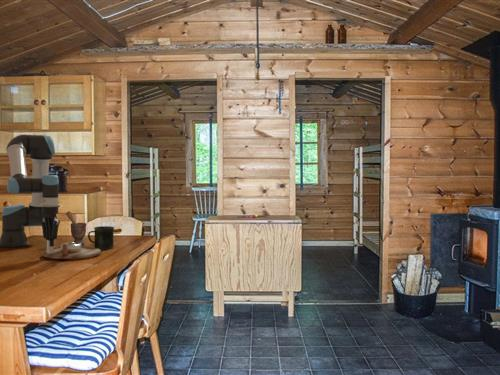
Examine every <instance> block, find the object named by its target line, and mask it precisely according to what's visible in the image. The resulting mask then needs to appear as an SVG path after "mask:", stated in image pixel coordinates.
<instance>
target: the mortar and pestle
mask: <svg viewBox="0 0 500 375" xmlns="http://www.w3.org/2000/svg"><path fill="white" fill-rule="evenodd" d="M65 214H66V216H67V218H68V219H69V220H70V222H71V223H70V233H71V237H72V238H73V239H74V241H73V242H79V243H81V247H85V245H86V242H85V241H84V240H83V238H84V237H85V236H86V234H87V223H86V222H77V221H76V220H75V218H74V216H73V214H72V212H71V211H67V212H65Z"/></svg>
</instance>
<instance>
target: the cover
mask: <svg viewBox="0 0 500 375" xmlns="http://www.w3.org/2000/svg"><path fill="white" fill-rule="evenodd" d="M62 244H68V253H78V252H81V247H82V246H81V243H79V242H74V241H67V242H65V243H64V242H63V243H60V248H61V253H62Z"/></svg>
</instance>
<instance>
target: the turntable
mask: <svg viewBox="0 0 500 375" xmlns="http://www.w3.org/2000/svg"><path fill="white" fill-rule="evenodd" d="M61 244H62V253H61V247H59V248H53V253H47V250H45V251H44V252H43V253H42V256H43V257H44V258H46V259H47V258H48V259H54V260H73V259H74V260H76V259H78V260H79V259H85V258H92V257H95V256H99V255H101V253H102V251H101V250H102V249H97V248H95V247H89V246H81V252H78V253H68V244H63V243H61Z"/></svg>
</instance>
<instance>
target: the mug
mask: <svg viewBox="0 0 500 375" xmlns="http://www.w3.org/2000/svg"><path fill="white" fill-rule="evenodd" d="M93 229H94V230H91V231H89V232H88V233H87V238H88V241H89V242H90V243H92V244H94V246H93V248H97V249H100V250H110V249H111V250H112V249H113V248H114V238H115V237H114V229H115V226H110V225H109V226H108V225H107V226H104V225H103V226H102V225H101V226H94V227H93ZM91 233H94V240H92V239H91V235H90V234H91Z"/></svg>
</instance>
